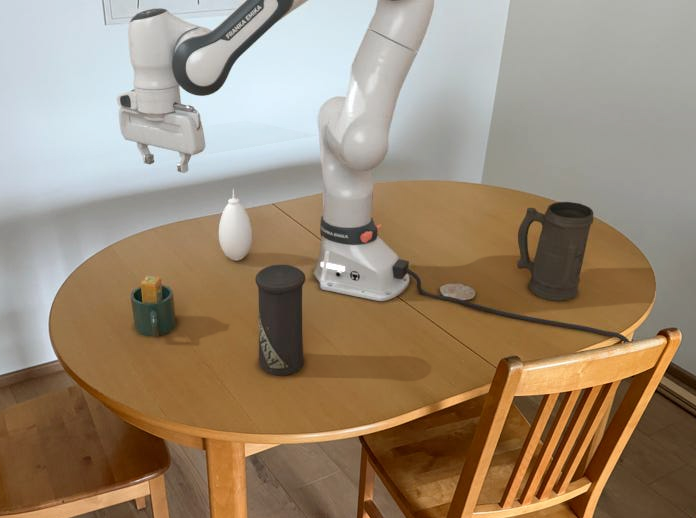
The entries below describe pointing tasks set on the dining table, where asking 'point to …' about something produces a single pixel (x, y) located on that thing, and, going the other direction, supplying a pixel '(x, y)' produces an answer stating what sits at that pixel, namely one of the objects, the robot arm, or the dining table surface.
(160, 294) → the supplement box
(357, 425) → the dining table surface
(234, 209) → the white air blower bulb
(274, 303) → the container
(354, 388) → the dining table surface
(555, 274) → the beer stein
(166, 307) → the teal faceted mug
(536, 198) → the dining table surface
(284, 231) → the dining table surface
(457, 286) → the flatbread
